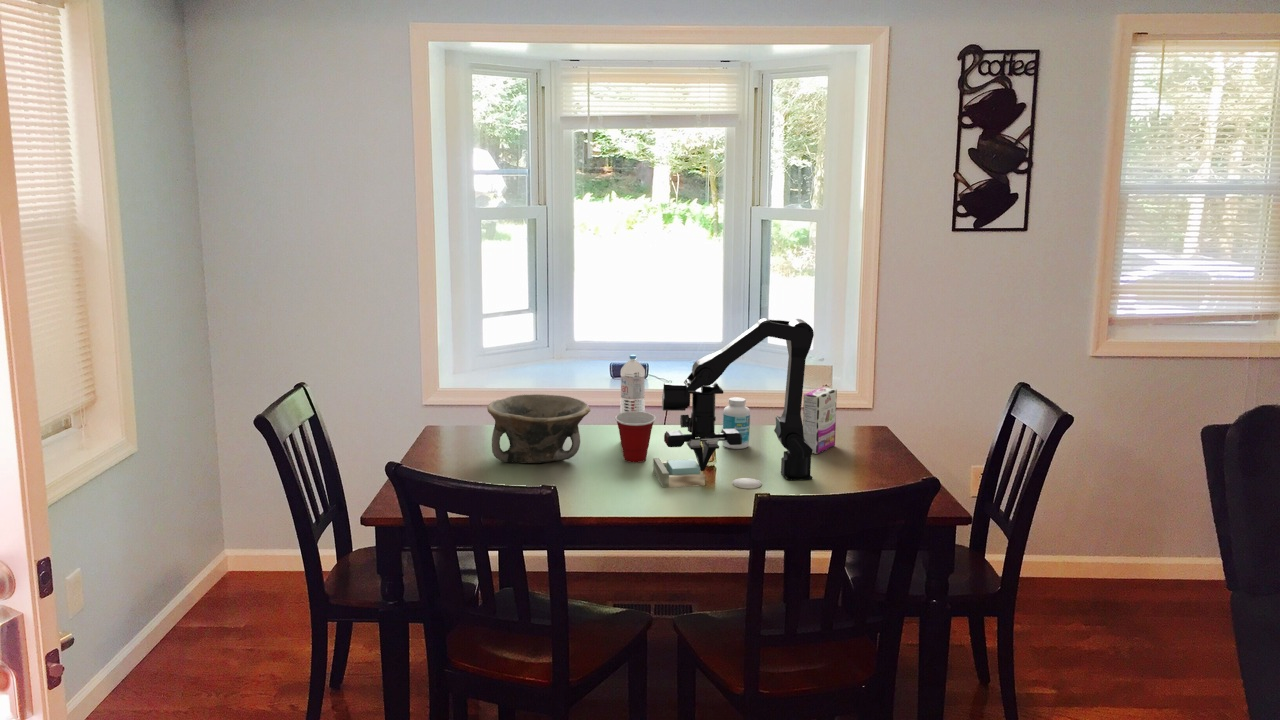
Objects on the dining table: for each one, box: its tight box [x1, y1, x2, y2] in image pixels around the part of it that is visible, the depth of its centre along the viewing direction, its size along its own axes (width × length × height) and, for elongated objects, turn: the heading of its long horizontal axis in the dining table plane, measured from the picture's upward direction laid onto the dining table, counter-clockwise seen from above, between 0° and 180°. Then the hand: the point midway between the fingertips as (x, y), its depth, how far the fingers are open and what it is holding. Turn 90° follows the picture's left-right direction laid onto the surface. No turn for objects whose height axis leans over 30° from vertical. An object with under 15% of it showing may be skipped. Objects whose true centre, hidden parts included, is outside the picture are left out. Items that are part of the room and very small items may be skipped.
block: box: [666, 458, 701, 475], centre depth 243 cm, size 7×7×4 cm
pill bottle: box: [722, 396, 751, 450], centre depth 271 cm, size 8×7×14 cm
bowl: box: [486, 393, 591, 464], centre depth 258 cm, size 27×26×15 cm
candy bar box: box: [802, 387, 838, 455], centre depth 269 cm, size 11×5×16 cm, turn 143°
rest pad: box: [732, 477, 762, 490], centre depth 240 cm, size 7×7×1 cm
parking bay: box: [652, 457, 706, 488], centre depth 243 cm, size 10×13×4 cm
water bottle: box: [619, 354, 646, 413], centre depth 273 cm, size 7×7×25 cm
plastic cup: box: [614, 411, 657, 464], centre depth 258 cm, size 11×11×12 cm
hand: (702, 470), depth 244 cm, fingers closed
